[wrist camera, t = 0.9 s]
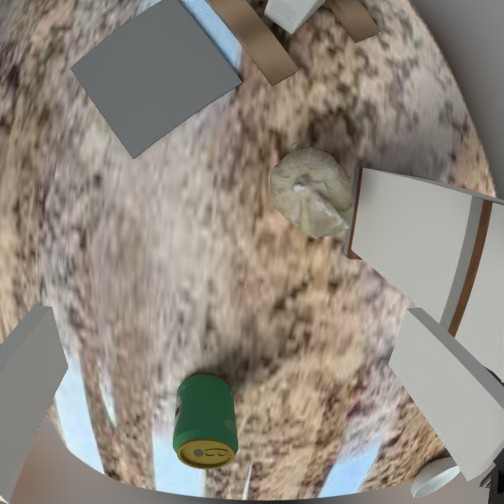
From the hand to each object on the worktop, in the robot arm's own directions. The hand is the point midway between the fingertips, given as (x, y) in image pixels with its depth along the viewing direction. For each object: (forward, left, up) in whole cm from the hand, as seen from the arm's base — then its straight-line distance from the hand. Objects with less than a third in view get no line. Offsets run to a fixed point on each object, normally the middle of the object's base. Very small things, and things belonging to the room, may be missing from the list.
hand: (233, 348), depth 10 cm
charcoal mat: (-17, +3, -25) cm, 30 cm away
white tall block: (+13, +17, -25) cm, 33 cm away
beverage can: (+20, -17, -25) cm, 37 cm away
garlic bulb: (+3, +9, -25) cm, 27 cm away
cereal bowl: (+94, +5, -25) cm, 98 cm away
